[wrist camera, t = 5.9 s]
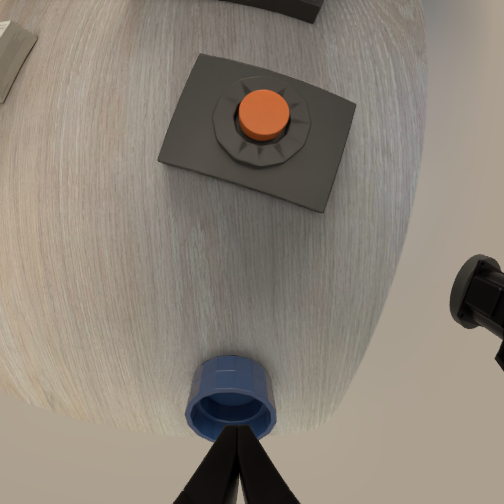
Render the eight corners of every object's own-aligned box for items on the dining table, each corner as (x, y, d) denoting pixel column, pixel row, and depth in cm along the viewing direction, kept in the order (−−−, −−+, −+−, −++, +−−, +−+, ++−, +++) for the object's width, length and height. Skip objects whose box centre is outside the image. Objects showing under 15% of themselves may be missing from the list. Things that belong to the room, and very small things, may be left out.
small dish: (281, 362, 21) (290, 398, 16) (256, 414, 22) (258, 450, 18) (203, 342, 20) (195, 377, 16) (187, 398, 21) (179, 434, 17)
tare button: (290, 108, 14) (295, 98, 13) (276, 147, 15) (281, 142, 13) (247, 94, 14) (248, 83, 12) (232, 133, 15) (231, 126, 13)
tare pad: (349, 109, 17) (366, 97, 14) (317, 212, 18) (331, 216, 15) (202, 61, 16) (196, 41, 13) (162, 163, 17) (148, 158, 14)
